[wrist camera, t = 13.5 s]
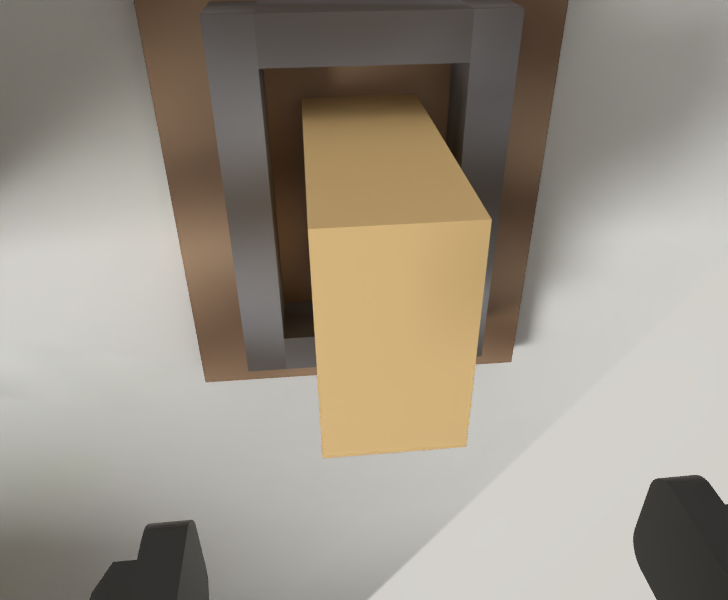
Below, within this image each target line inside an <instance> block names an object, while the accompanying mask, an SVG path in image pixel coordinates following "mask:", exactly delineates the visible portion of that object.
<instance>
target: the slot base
mask: <svg viewBox="0 0 728 600" xmlns="http://www.w3.org/2000/svg"><path fill="white" fill-rule="evenodd" d="M134 4H135V9H136V14H137V20H138V25H139V30H140V36H141V41H142V46H143V52H144V57H145V62H146V68H147V73H148V78H149V84H150V89H151V94H152V99H153V105H154V110H155V115H156V121H157V126H158V131H159V137H160V142H161V147H162V153H163V158H164V163H165V169H166V174H167V179H168V185H169V190H170V195H171V201H172V206H173V211H174V217H175V222H176V227H177V232H178V238H179V243H180V248H181V254H182V259H183V264H184V270H185V275H186V280H187V286H188V291H189V296H190V302H191V307H192V312H193V318H194V323H195V328H196V334H197V339H198V344H199V350H200V355H201V360H202V366H203V371H204V376H205V381H206V382H217V381H232V380H247V379H262V378H277V377H292V376H308V375H317V363H316V348H315V332H314V317H313V301H312V286H311V271H310V255H309V240H308V223H307V203H306V182H305V162H304V142H303V121H302V101H301V98H318V97H345V96H373V95H401V94H416V95H417V97H418V98H419V100H420V102H421V103H422V105H423V106H424V108H425V110H426V111H427V113H428V115H429V116H430V118H431V120H432V121H433V123H434V125H435V126H436V128H437V130H438V131H439V133H440V135H441V136H442V138H443V140H444V141H445V143H446V145H447V146H448V148H449V149H450V151H451V153H452V154H453V156H454V158H455V159H456V161H457V163H458V164H459V166H460V168H461V169H462V171H463V173H464V174H465V176H466V178H467V179H468V181H469V183H470V184H471V186H472V187H473V189H474V191H475V192H476V194H477V196H478V197H479V199H480V201H481V202H482V204H483V206H484V207H485V209H486V211H487V212H488V214H489V216H490V217H491V219H492V223H491V232H490V241H489V249H488V258H487V267H486V276H485V285H484V293H483V302H482V311H481V320H480V329H479V337H478V346H477V355H476V364H488V363H503V362H511V360H512V354H513V347H514V341H515V335H516V328H517V322H518V316H519V309H520V303H521V297H522V290H523V284H524V278H525V271H526V265H527V259H528V253H529V246H530V240H531V234H532V227H533V221H534V215H535V208H536V202H537V196H538V189H539V183H540V177H541V170H542V164H543V158H544V151H545V145H546V139H547V133H548V126H549V120H550V114H551V107H552V101H553V95H554V88H555V82H556V76H557V69H558V63H559V57H560V50H561V44H562V38H563V31H564V25H565V19H566V13H567V6H568V0H134Z"/></svg>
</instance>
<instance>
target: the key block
mask: <svg viewBox="0 0 728 600" xmlns="http://www.w3.org/2000/svg"><path fill="white" fill-rule="evenodd" d="M301 101H302V121H303V142H304V162H305V182H306V203H307V223H308V240H309V255H310V271H311V286H312V301H313V317H314V332H315V348H316V363H317V378H318V394H319V409H320V424H321V440H322V455H323V458H332V457H344V456H357V455H369V454H382V453H394V452H407V451H419V450H432V449H444V448H457V447H466V443H467V434H468V426H469V417H470V408H471V399H472V390H473V381H474V373H475V364H476V355H477V346H478V337H479V329H480V320H481V311H482V302H483V293H484V285H485V276H486V267H487V258H488V249H489V241H490V232H491V223H492V219H491V217H490V216H489V214H488V212H487V211H486V209H485V207H484V206H483V204H482V202H481V201H480V199H479V197H478V196H477V194H476V192H475V191H474V189H473V187H472V186H471V184H470V183H469V181H468V179H467V178H466V176H465V174H464V173H463V171H462V169H461V168H460V166H459V164H458V163H457V161H456V159H455V158H454V156H453V154H452V153H451V151H450V149H449V148H448V146H447V145H446V143H445V141H444V140H443V138H442V136H441V135H440V133H439V131H438V130H437V128H436V126H435V125H434V123H433V121H432V120H431V118H430V116H429V115H428V113H427V111H426V110H425V108H424V106H423V105H422V103H421V102H420V100H419V98H418V97H417V95H416V94H401V95H373V96H345V97H318V98H301Z"/></svg>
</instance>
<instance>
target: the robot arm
mask: <svg viewBox="0 0 728 600" xmlns="http://www.w3.org/2000/svg"><path fill="white" fill-rule="evenodd" d="M633 543H634V550H635V555H636V558H637V561H638V564H639V566H640V569H641V571H642V572H643V574H644V576H645V578H646V580H647V582H648V584H649V586H650V588H651V590H652V591H653V593H654V595H655V597H656V599H657V600H728V504H727V505H725V504H724V503H723V501H722V500H721V499H720V497H719V496H718V494H717V493H716V492H715V490H714V489H713V488H712V486H711V485H710V484H709V482H708V481H707V480H705V478H703V477H701V476H699V475H690V476H680V477H669V478H658V479H655V480H653V482H652V483H651V485H650V487H649V491H648V493H647V496H646V499H645V502H644V504H643V507H642V510H641V513H640V516H639V519H638V521H637V524H636V527H635V530H634V536H633ZM90 600H209V588H208V576H207V570H206V566H205V562H204V558H203V554H202V550H201V546H200V541H199V537H198V533H197V529H196V525H195V522H194V521H193V520H186V521H175V522H164V523H153V524H148V525H147V526H146V527H145V529H144V532H143V536H142V540H141V544H140V549H139V553H138V558H137V560H130V561H120V562H113V563H112V565H111V566H110V567H109V569H108V570H107V572H106V573H105V575H104V576H103V578H102V579H101V581H100V582H99V583H98V585H97V586H96V588H95V589H94V591H93V592H92V594H91V597H90Z"/></svg>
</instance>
